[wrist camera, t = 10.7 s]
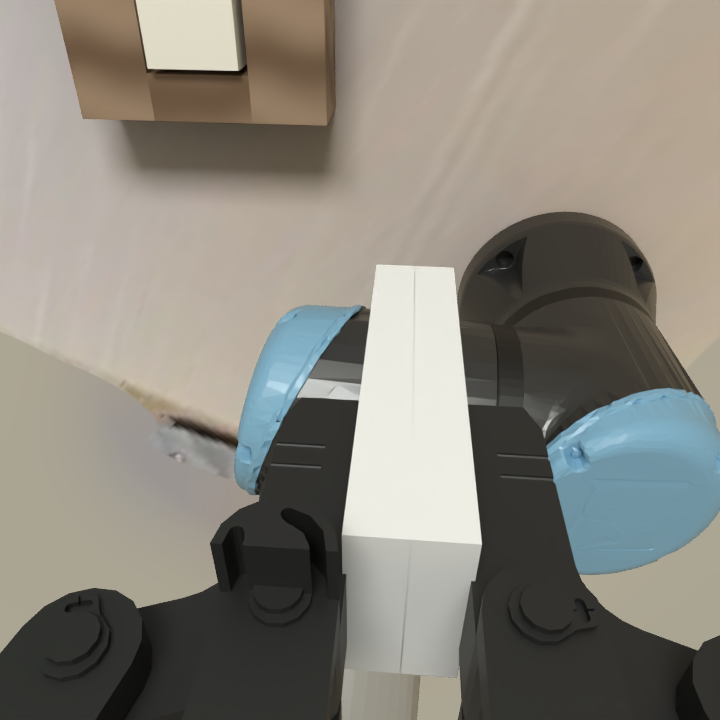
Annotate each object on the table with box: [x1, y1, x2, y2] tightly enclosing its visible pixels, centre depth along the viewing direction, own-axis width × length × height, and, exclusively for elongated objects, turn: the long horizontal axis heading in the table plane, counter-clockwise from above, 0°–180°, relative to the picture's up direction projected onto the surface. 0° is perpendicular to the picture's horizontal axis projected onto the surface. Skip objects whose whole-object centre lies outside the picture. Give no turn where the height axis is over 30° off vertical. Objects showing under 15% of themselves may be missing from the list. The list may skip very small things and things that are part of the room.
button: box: [136, 0, 247, 71], centre depth 37 cm, size 6×6×4 cm
